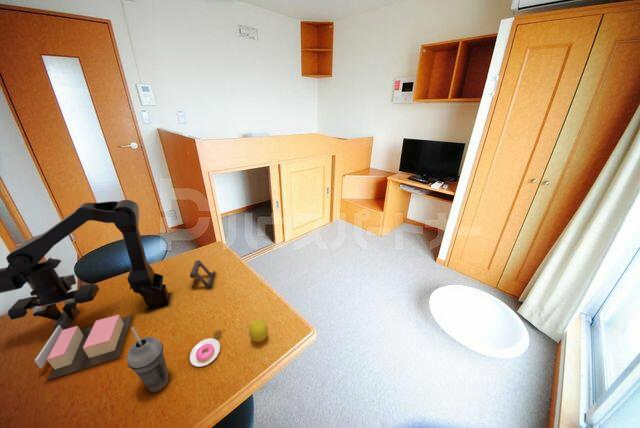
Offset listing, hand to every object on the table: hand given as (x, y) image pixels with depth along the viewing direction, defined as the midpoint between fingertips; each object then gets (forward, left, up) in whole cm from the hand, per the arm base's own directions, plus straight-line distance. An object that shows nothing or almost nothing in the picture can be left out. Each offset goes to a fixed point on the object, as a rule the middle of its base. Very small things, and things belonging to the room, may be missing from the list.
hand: (68, 319), depth 76 cm
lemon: (-55, +28, -4) cm, 62 cm away
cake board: (-9, +10, -4) cm, 14 cm away
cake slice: (-3, +11, -3) cm, 12 cm away
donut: (-40, +25, -4) cm, 48 cm away
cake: (-12, +10, -3) cm, 16 cm away
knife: (0, +6, -1) cm, 6 cm away
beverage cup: (-28, +30, -4) cm, 42 cm away
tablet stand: (-39, -7, -4) cm, 40 cm away
